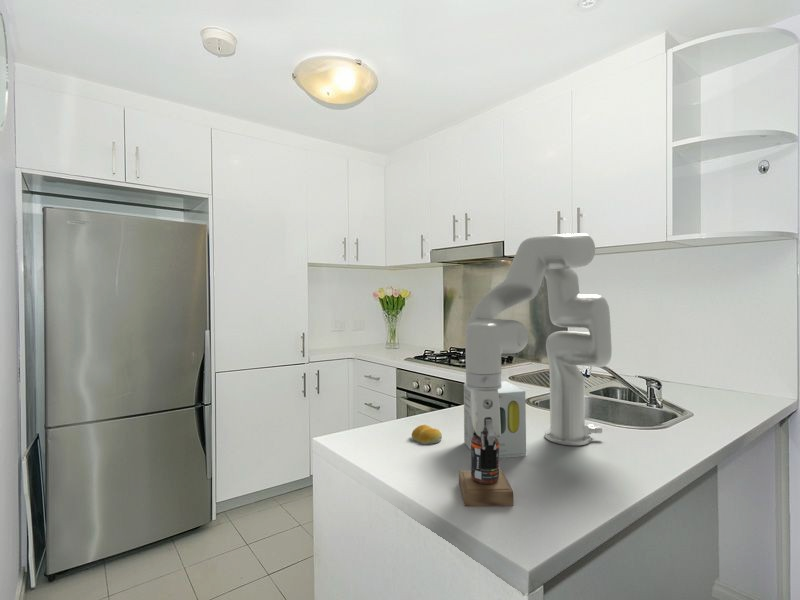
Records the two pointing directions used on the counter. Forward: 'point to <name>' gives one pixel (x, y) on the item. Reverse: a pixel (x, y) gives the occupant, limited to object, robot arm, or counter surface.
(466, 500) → the walnut base
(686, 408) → the counter surface
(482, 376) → the robot arm
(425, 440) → the bread roll
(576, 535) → the counter surface
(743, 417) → the counter surface
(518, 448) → the supplement box
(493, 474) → the supplement bottle
